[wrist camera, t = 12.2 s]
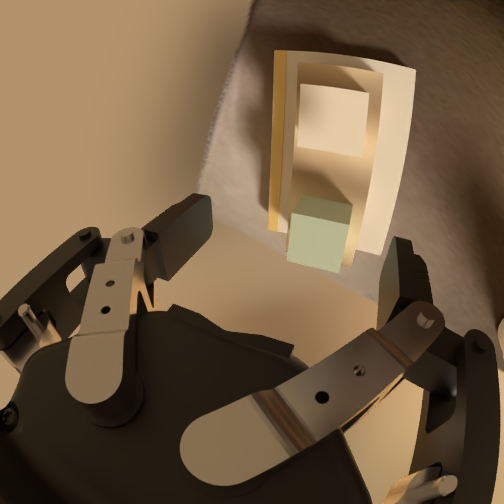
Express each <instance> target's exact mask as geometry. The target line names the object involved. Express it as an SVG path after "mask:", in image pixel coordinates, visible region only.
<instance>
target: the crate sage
mask: <svg viewBox="0 0 504 504" xmlns="http://www.w3.org/2000/svg"><path fill="white" fill-rule="evenodd" d="M352 207H353V205H350V204H345V203H341V202H336V201H331V200H326V199H321V198H316V197H311V196H306V195H303V196H302V197H301V199H300V200H299V202H298V203H297V205H296V207H295V208H294V210H293V211H292V213H291V224H290V235H289V245H288V255H287V261H290V262H294V263H298V264H302V265H306V266H311V267H315V268H319V269H323V270H327V271H331V272H336V273H339V270H340V266H341V262H342V257H343V253H344V249H345V244H346V240H347V235H348V230H349V226H350V220H351V214H352Z"/></svg>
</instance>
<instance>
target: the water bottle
mask: <svg viewBox="0 0 504 504" xmlns="http://www.w3.org/2000/svg"><path fill="white" fill-rule="evenodd" d="M498 338H499V342H500V345H501V348H502V350H503V357H504V318H503V319H502V321H501V323H500V325H499V327H498Z"/></svg>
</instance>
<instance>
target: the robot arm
mask: <svg viewBox="0 0 504 504" xmlns="http://www.w3.org/2000/svg"><path fill="white" fill-rule="evenodd" d="M457 1H460V0H457ZM212 229H213V221H212V205H211V198H210V197H209V196H208V195H202V194H196V193H193V194H191V195H190V196H188V197H187V198H186V199H185V200H183V201H181V202H180V203H177V204H175V205H172V206H171V207H170V208H168V209H167V210H165V212H163V213H161V214H160V215H159V216H158V217H156V218H154V219H153V220H152V221H150V222H149V223H148V224H146V225H145V226H144V227H142V228H141V229H139V228H135V227H132V228H126V229H123V230H120V231H118V232H117V233H116V234H114V236H113V237H112V238H101V234H100V231H99V229H98V228H96V227H88V228H85V229H82V230H80V231H78V232H77V233H75V234H74V235H73V236H72V237H70V238H69V239H68V240H67V241H65V242H64V243H63V244H62V245H60V246H59V247H58V248H57V249H56V250H54V251H53V252H52V253H51V254H49V255H48V256H47V257H46V258H45V259H44V260H42V262H40V263H39V264H38V265H37V266H36V267H35V268H33V269H32V270H31V271H30V272H29V273H28V274H27V275H26V276H24V277H23V279H21V280H20V281H19V282H18V283H17V284H16V285H15V286H14V287H13V288H12V289H11V290H10V291H9V292H8V293H7V294H6V295H5V296H4V297H3V298H2V299H1V300H0V354H1V355H2V356H3V357H4V358H5V359H6V360H7V362H8V363H9V364H10V365H11V366H13V367H14V368H15V369H16V370H17V371H18V372H19V373H20V374H21V375H20V379H19V382H18V384H17V387H16V389H15V392H14V394H13V396H12V398H11V400H10V402H9V403H8V405H7V406H6V407H5V408H3V409H2V410H0V504H372V500H371V496H370V494H369V492H368V489H367V487H366V485H365V482H364V480H363V478H362V476H361V473H360V471H359V469H358V466H357V464H356V461H355V459H354V457H353V455H352V453H351V450H350V448H349V445H348V443H347V441H346V439H345V436H344V433H345V432H347V431H348V430H349V429H351V428H352V427H353V426H354V425H356V424H357V423H358V422H359V421H360V420H362V419H363V418H364V417H365V416H366V415H367V414H368V413H369V412H370V411H371V410H373V409H374V408H375V407H376V406H377V405H378V404H379V403H380V402H381V401H383V400H384V399H385V398H386V397H387V396H388V395H389V394H390V393H391V392H392V391H393V390H394V389H395V388H397V387H398V385H400V384H401V382H403V381H404V379H406V380H408V381H410V382H412V383H414V384H416V385H417V386H419V387H421V388H423V389H424V391H423V400H422V409H421V416H420V422H419V428H418V434H417V440H416V445H415V450H414V455H413V459H412V463H411V467H410V471H409V475H408V476H405V477H403V478H401V479H399V480H398V481H397V482H396V483H395V484H394V485H393V486H392V487H391V489H390V491H389V492H388V494H387V496H386V498H385V499H384V501H383V502H382V503H381V504H491V502H492V497H493V492H494V487H495V481H496V473H497V466H498V457H499V445H500V392H499V379H498V369H497V361H496V354H495V348H494V345H493V343H492V341H491V339H490V338H489V337H488V336H487V335H486V334H485V333H483V332H482V331H480V330H476V329H472V330H469V331H468V332H467V333H466V334H465V336H464V337H462V336H460V335H458V334H456V333H454V332H453V331H451V330H449V329H447V328H446V327H445V320H444V317H443V315H442V313H441V312H440V310H439V309H438V308H437V307H435V306H434V305H433V299H432V293H431V287H430V282H429V276H428V271H427V266H426V263H425V262H424V260H423V259H422V258H421V256H420V255H416V254H414V252H413V247H412V242H411V240H407V239H404V238H400V237H396V236H394V237H393V239H392V242H391V245H390V248H389V251H388V254H387V257H386V259H385V262H384V265H383V268H382V271H381V276H380V282H379V302H378V317H377V329H376V330H375V329H374V328H370V329H368V330H366V331H365V332H363V333H362V334H361V335H360V336H358V337H357V338H355V339H354V340H352V341H351V342H349V343H348V344H346V345H345V346H343V347H342V348H340V349H339V350H338V351H336V352H334V353H333V354H331V355H330V356H328V357H326V358H325V359H323V360H322V361H320V362H318V363H317V364H315V365H314V366H312V367H310V368H309V367H308V366H307V365H306V364H305V363H304V362H302V361H301V360H299V359H298V358H297V357H295V356H293V355H292V354H293V350H294V345H293V344H289V343H286V342H283V341H279V340H276V339H273V338H270V337H266V336H263V335H257V334H247V333H238V332H230V331H226V330H223V329H222V328H220V327H219V326H217V325H216V324H214V323H212V322H211V321H210V320H208V319H207V318H205V317H204V316H202V315H201V314H199V313H196V312H194V311H191V310H188V309H186V308H183V307H181V306H178V305H176V304H173V305H172V306H171V307H170V308H169V310H168V311H157V299H156V296H157V295H156V294H157V293H156V282H155V280H156V279H157V278H161V279H163V280H166V281H169V280H170V279H171V278H172V277H173V276H174V275H175V274H176V273H177V272H178V270H180V268H181V267H182V266H183V265H184V264H185V263H186V262H187V261H188V260H189V259H190V258H191V257H192V256H193V255H194V254H195V253H196V252H197V251H198V250H199V249H200V247H202V245H203V244H204V243H205V242H206V241H207V240H208V239H209V238H210V236H211V234H212ZM80 264H81V266H82V269H83V271H84V274H85V276H86V277H85V278H84V279H83V280H82V281H81V282H80V283H79V284H78V285H77V286H76V287H75V288H74V289H73V290H72V291H71V292H70V293H69V291H68V289H67V286H66V279H67V277H68V275H69V274H70V273H71V272H72V271H73V270H75V269H76V268H77V267H78V266H79V265H80ZM80 323H81V324H80ZM79 324H80V330H79V332H78V334H77V335H74V336H73V337H71V338H68V337H69V336H70V335H71V334H72V333H73V331H74V330H75V329H76V328H77V327H78V325H79ZM67 338H68V339H67Z"/></svg>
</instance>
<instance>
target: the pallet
mask: <svg viewBox="0 0 504 504" xmlns="http://www.w3.org/2000/svg"><path fill="white" fill-rule="evenodd" d="M383 75H384V73H379V72H374V71H369V70H363V69H357V68H351V67H344V66H336V65H327V64H317V63H304V62H298V72H297V98H296V119H295V137H294V153H293V168H292V182H291V195H290V207H289V219H288V230H287V241H286V251H285V252H288V245H289V235H290V224H291V213H292V211H293V210H294V208H295V207H296V205H297V203H298V202H299V200H300V199H301V197H302V196H303V195H306V196H311V197H316V198H321V199H326V200H331V201H336V202H341V203H345V204H350V205H353V207H352V214H351V220H350V226H349V230H348V235H347V240H346V244H345V249H344V253H343V257H342V262H341V265H343V266H347V267H351V265H352V262H353V258H354V254H355V250H356V246H357V242H358V238H359V234H360V230H361V225H362V221H363V216H364V212H365V207H366V202H367V197H368V192H369V187H370V181H371V176H372V170H373V164H374V158H375V151H376V144H377V137H378V129H379V121H380V112H381V101H382V90H383ZM300 84H308V85H318V86H327V87H335V88H342V89H348V90H355V91H360V92H366V93H369V102H368V113H367V122H366V131H365V139H364V147H363V154H362V158H360V157H355V156H350V155H345V154H339V153H334V152H328V151H322V150H316V149H310V148H303V147H297V142H298V125H299V106H300Z"/></svg>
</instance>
